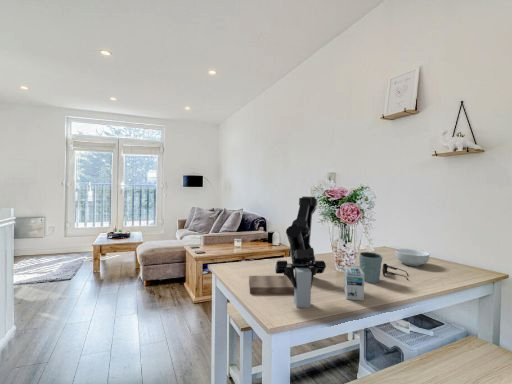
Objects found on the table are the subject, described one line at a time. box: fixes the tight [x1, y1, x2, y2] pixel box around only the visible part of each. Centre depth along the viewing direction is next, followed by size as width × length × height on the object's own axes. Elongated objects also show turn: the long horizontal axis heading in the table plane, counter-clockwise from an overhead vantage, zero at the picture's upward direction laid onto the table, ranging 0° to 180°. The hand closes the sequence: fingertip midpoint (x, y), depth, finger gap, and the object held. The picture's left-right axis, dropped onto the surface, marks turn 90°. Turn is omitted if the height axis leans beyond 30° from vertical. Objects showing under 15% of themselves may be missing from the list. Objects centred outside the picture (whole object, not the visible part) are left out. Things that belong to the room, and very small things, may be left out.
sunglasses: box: [381, 263, 410, 281], centre depth 139 cm, size 10×12×5 cm
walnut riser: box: [248, 275, 295, 294], centre depth 121 cm, size 18×14×2 cm
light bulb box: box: [343, 264, 365, 301], centre depth 114 cm, size 11×7×11 cm, turn 168°
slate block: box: [293, 268, 312, 309], centre depth 104 cm, size 5×5×13 cm
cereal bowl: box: [394, 248, 430, 267], centre depth 159 cm, size 17×17×7 cm
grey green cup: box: [358, 251, 383, 284], centre depth 132 cm, size 10×10×12 cm
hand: (303, 288), depth 103 cm, fingers closed on slate block, 5 cm apart
